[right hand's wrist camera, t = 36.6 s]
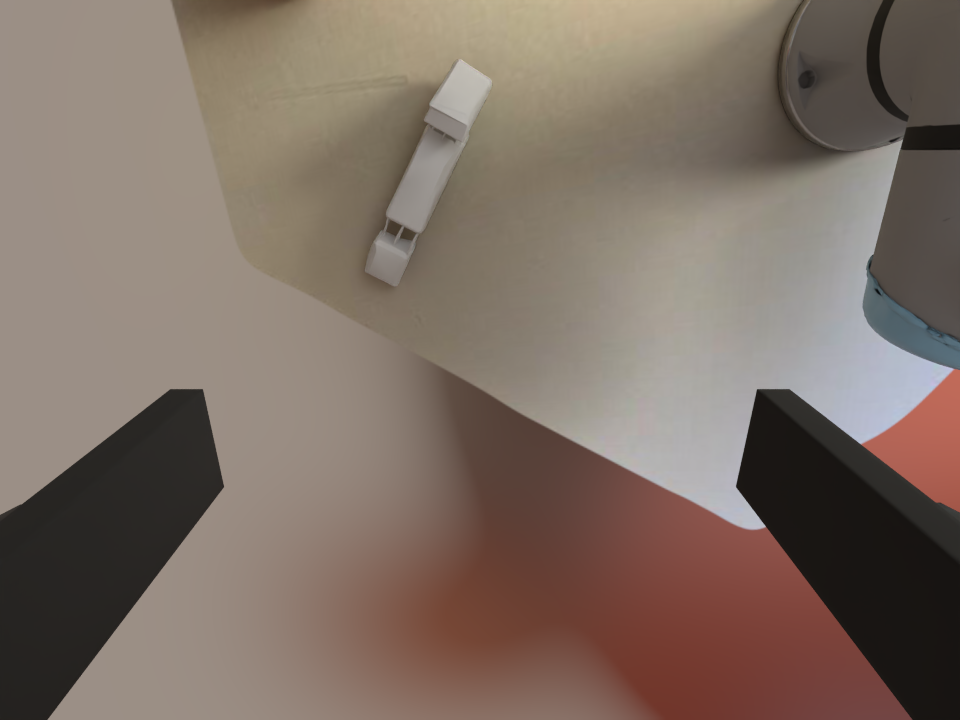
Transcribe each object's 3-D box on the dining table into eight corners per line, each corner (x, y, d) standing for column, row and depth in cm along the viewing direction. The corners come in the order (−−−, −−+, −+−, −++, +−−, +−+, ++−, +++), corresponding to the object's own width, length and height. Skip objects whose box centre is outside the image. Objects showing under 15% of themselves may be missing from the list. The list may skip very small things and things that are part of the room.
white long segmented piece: (457, 57, 45) (448, 51, 39) (496, 80, 45) (493, 77, 39) (370, 259, 53) (351, 281, 47) (403, 276, 54) (390, 299, 48)
